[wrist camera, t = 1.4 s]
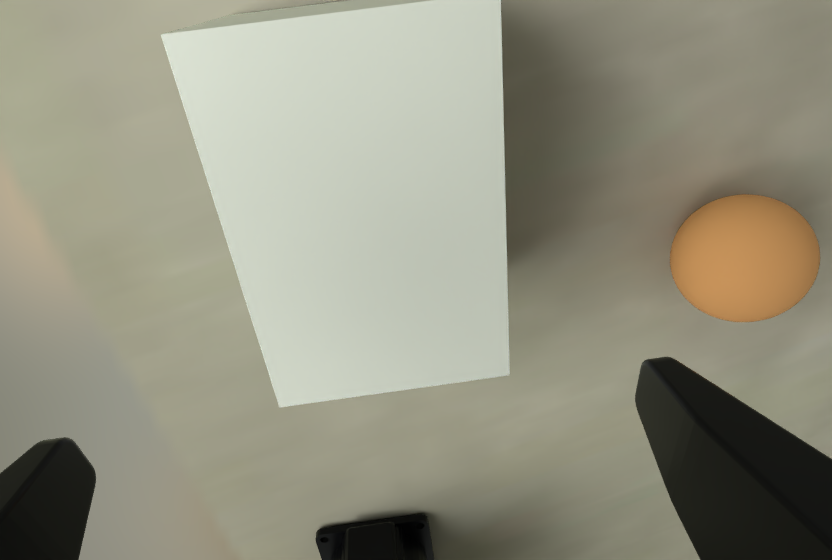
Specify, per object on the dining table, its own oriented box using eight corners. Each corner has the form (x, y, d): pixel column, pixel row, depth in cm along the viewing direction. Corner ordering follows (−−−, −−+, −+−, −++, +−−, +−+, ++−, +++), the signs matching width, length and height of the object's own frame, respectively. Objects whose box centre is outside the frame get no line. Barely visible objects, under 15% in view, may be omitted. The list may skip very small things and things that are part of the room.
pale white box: (472, 273, 23) (509, 375, 17) (301, 297, 23) (279, 407, 17) (454, -13, 18) (500, -9, 12) (229, 14, 17) (160, 34, 12)
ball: (749, 274, 24) (832, 338, 20) (642, 288, 24) (702, 356, 20) (774, 169, 22) (875, 216, 18) (655, 185, 22) (727, 236, 17)
